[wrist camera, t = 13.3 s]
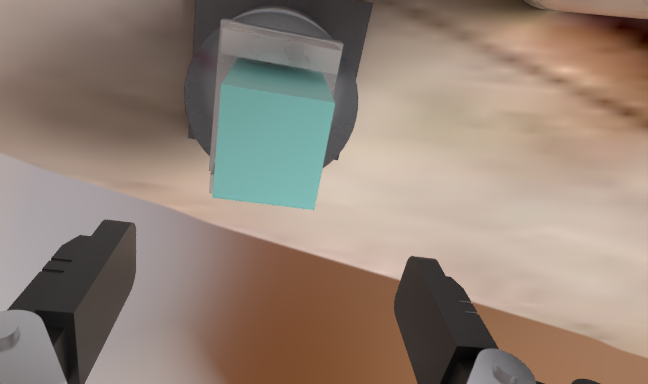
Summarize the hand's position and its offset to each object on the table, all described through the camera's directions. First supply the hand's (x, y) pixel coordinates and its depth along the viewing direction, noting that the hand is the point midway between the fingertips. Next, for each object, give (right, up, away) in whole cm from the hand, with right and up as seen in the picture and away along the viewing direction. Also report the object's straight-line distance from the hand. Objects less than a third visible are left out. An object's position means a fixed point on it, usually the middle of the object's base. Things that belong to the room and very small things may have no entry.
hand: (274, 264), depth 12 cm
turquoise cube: (-2, +7, +13) cm, 15 cm away
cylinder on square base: (-3, +13, +25) cm, 28 cm away
